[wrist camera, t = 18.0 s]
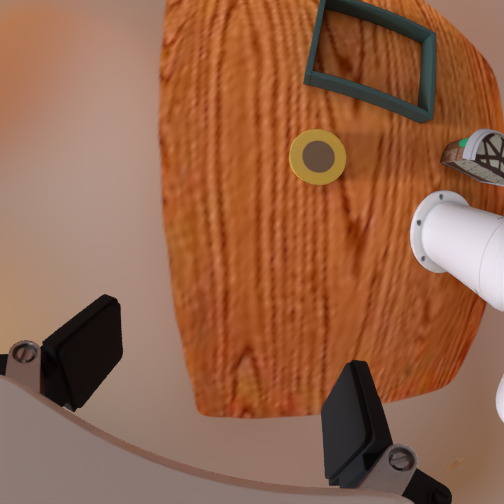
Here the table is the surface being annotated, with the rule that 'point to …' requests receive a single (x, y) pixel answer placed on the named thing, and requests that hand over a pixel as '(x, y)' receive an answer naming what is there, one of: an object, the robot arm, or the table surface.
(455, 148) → the food container
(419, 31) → the dark green rectangular frame
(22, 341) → the robot arm
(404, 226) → the table surface
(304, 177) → the tape roll
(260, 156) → the table surface
